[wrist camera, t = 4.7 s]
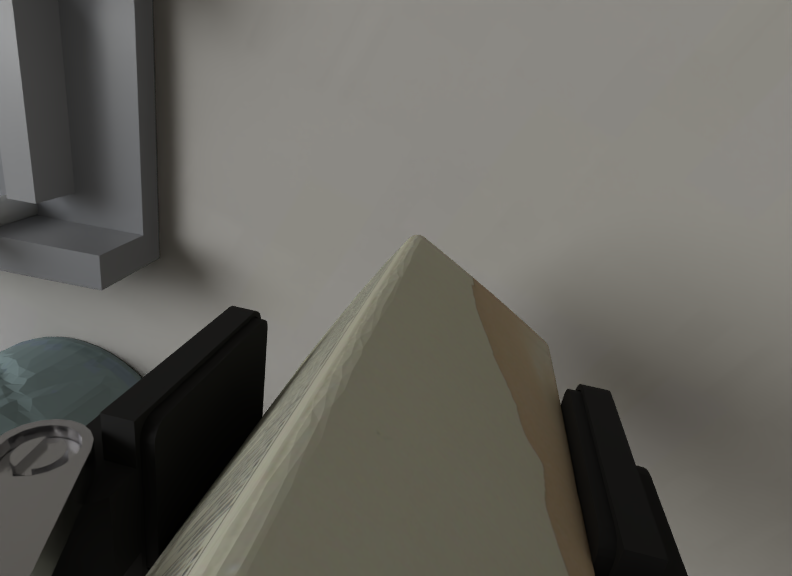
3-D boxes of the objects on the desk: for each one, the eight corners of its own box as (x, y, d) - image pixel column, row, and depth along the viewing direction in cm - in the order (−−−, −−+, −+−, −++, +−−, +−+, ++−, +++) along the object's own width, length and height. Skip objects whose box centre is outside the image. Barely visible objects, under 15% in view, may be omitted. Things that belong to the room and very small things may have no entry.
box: (419, 462, 14) (210, 1379, 4) (295, 363, 14) (-264, 1109, 4) (561, 337, 12) (834, 1555, 2) (421, 217, 12) (-72, 998, 2)
